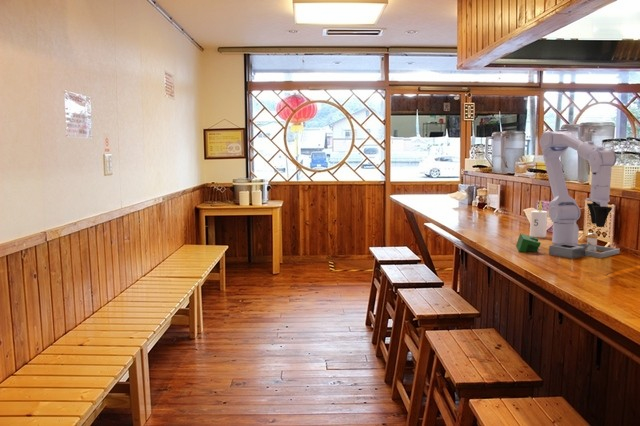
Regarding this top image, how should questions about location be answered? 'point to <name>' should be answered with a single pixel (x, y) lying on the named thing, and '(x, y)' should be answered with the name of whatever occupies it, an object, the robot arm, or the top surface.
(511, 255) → the top surface
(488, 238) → the top surface
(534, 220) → the candle
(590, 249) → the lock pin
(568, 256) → the block
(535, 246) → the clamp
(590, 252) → the tray
